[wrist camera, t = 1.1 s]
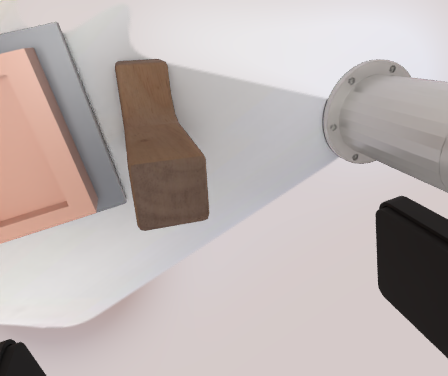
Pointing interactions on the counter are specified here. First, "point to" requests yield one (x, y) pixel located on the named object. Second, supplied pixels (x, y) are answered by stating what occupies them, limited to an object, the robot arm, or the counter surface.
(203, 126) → the counter surface
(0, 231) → the baseplate
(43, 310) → the counter surface
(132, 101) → the wooden block
